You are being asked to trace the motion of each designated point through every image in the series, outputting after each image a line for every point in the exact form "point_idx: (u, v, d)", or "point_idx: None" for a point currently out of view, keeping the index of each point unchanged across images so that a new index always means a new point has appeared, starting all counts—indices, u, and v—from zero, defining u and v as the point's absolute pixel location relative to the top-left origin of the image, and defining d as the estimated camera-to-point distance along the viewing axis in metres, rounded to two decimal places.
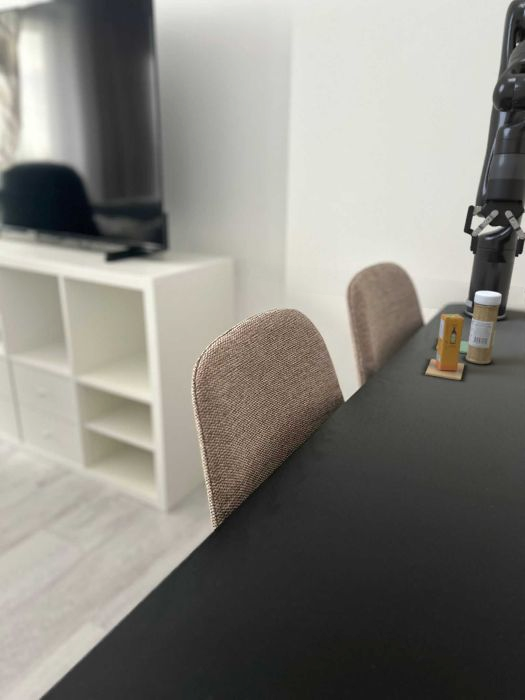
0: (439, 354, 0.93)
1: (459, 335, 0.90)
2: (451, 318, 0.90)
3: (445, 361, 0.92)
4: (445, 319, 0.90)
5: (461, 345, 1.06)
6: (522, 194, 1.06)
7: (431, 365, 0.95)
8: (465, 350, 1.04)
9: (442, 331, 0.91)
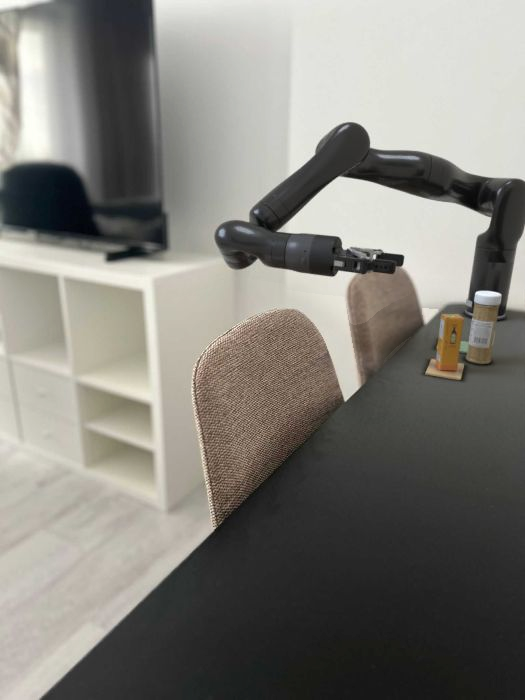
0: (439, 354, 0.93)
1: (459, 335, 0.90)
2: (451, 318, 0.90)
3: (445, 361, 0.92)
4: (445, 319, 0.90)
5: (461, 345, 1.06)
6: (324, 268, 0.94)
7: (431, 365, 0.95)
8: (465, 350, 1.04)
9: (442, 331, 0.91)
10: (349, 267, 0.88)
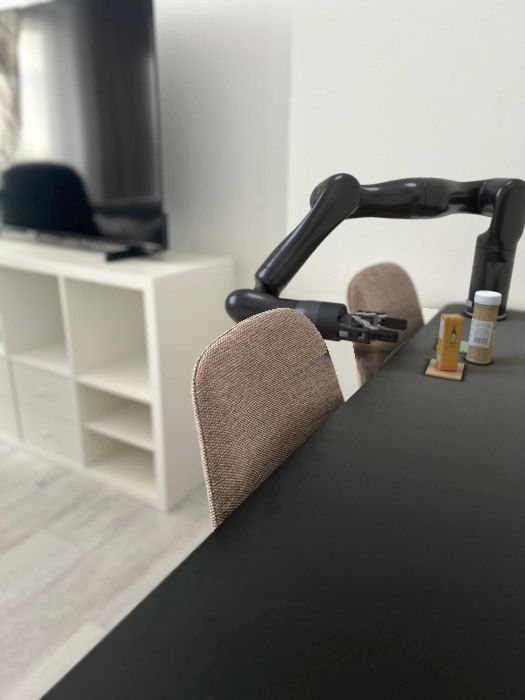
0: (439, 354, 0.93)
1: (459, 335, 0.90)
2: (451, 318, 0.90)
3: (445, 361, 0.92)
4: (445, 319, 0.90)
5: (461, 345, 1.06)
6: (330, 335, 0.98)
7: (431, 365, 0.95)
8: (465, 350, 1.04)
9: (442, 331, 0.91)
10: (354, 337, 0.92)
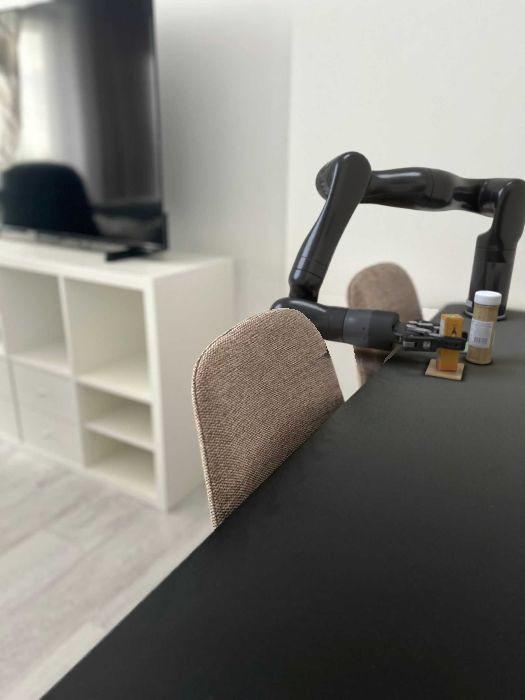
0: (439, 354, 0.93)
1: (459, 335, 0.90)
2: (451, 318, 0.90)
3: (445, 361, 0.92)
4: (445, 319, 0.90)
5: None
6: (383, 344, 0.94)
7: (431, 365, 0.95)
8: (465, 350, 1.04)
9: (442, 331, 0.91)
10: (421, 346, 0.89)
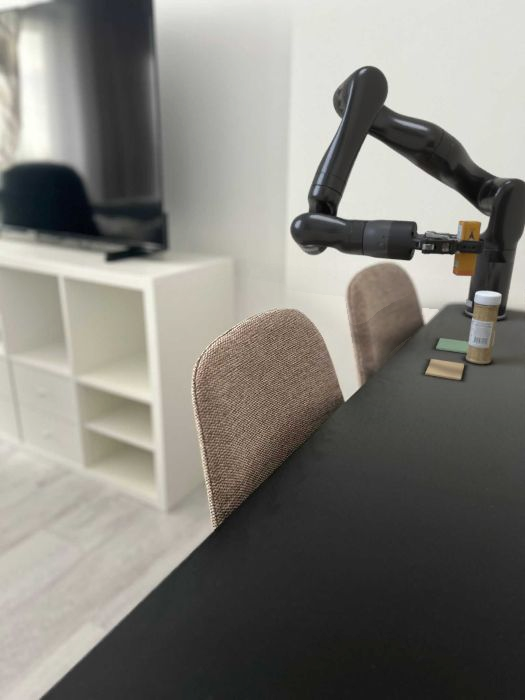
0: (456, 260, 0.96)
1: (476, 239, 0.94)
2: (469, 222, 0.93)
3: (463, 266, 0.95)
4: (463, 223, 0.93)
5: (461, 345, 1.06)
6: (402, 252, 0.97)
7: (431, 365, 0.95)
8: (465, 350, 1.04)
9: (460, 236, 0.94)
10: (440, 249, 0.92)
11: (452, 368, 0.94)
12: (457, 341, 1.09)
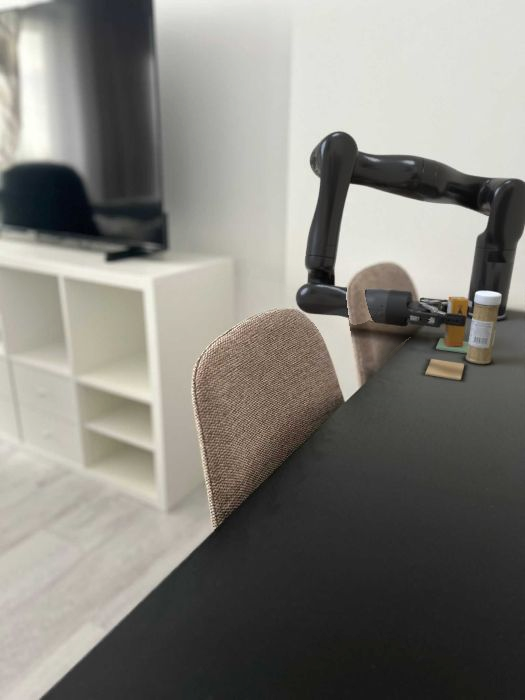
0: (447, 332, 1.06)
1: None
2: (457, 300, 1.03)
3: (452, 338, 1.05)
4: (452, 301, 1.03)
5: None
6: (399, 320, 1.07)
7: (431, 365, 0.95)
8: (465, 350, 1.04)
9: (449, 311, 1.04)
10: (425, 321, 1.01)
11: (452, 368, 0.94)
12: None
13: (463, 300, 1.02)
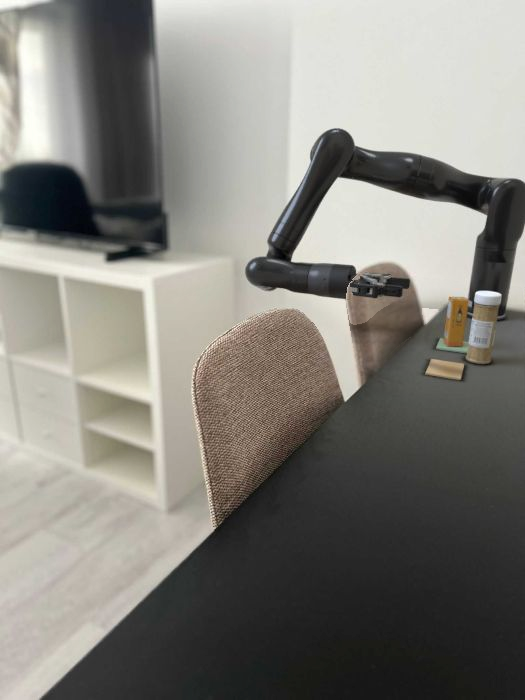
0: (447, 332, 1.06)
1: (464, 315, 1.03)
2: (457, 300, 1.03)
3: (452, 338, 1.05)
4: (452, 301, 1.03)
5: None
6: (341, 292, 1.10)
7: (431, 365, 0.95)
8: (465, 350, 1.04)
9: (449, 311, 1.04)
10: (363, 292, 1.04)
11: (452, 368, 0.94)
12: None
13: (463, 300, 1.02)
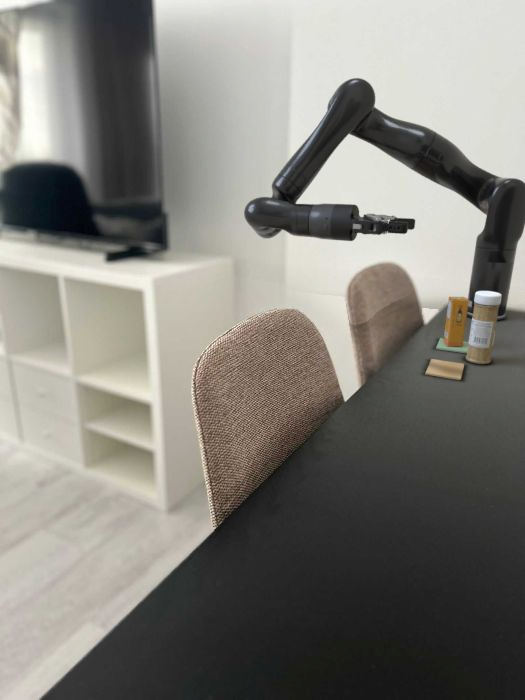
0: (447, 332, 1.06)
1: (464, 315, 1.03)
2: (457, 300, 1.03)
3: (452, 338, 1.05)
4: (452, 301, 1.03)
5: None
6: (343, 232, 1.06)
7: (431, 365, 0.95)
8: (465, 350, 1.04)
9: (449, 311, 1.04)
10: (367, 228, 1.00)
11: (452, 368, 0.94)
12: None
13: (463, 300, 1.02)
